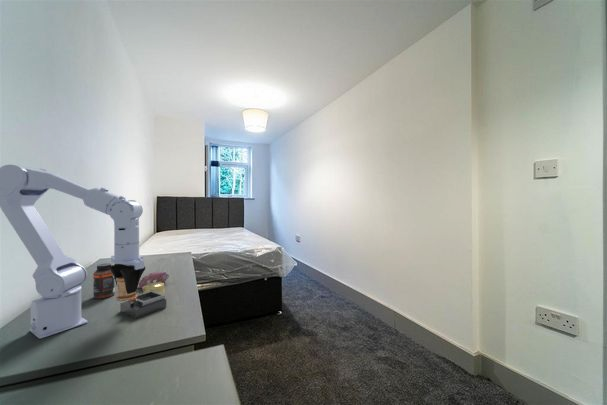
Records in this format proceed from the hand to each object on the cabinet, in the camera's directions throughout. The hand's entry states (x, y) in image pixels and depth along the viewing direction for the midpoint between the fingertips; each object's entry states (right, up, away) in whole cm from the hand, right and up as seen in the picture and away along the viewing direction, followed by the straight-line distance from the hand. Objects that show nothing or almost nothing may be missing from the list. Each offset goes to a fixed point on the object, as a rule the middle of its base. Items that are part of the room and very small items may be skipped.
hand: (127, 290), depth 69 cm
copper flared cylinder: (0, -2, 0) cm, 2 cm away
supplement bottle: (-21, -9, +18) cm, 28 cm away
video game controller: (-10, -9, +29) cm, 31 cm away
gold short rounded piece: (-3, -9, +18) cm, 20 cm away
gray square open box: (0, -9, +7) cm, 11 cm away
